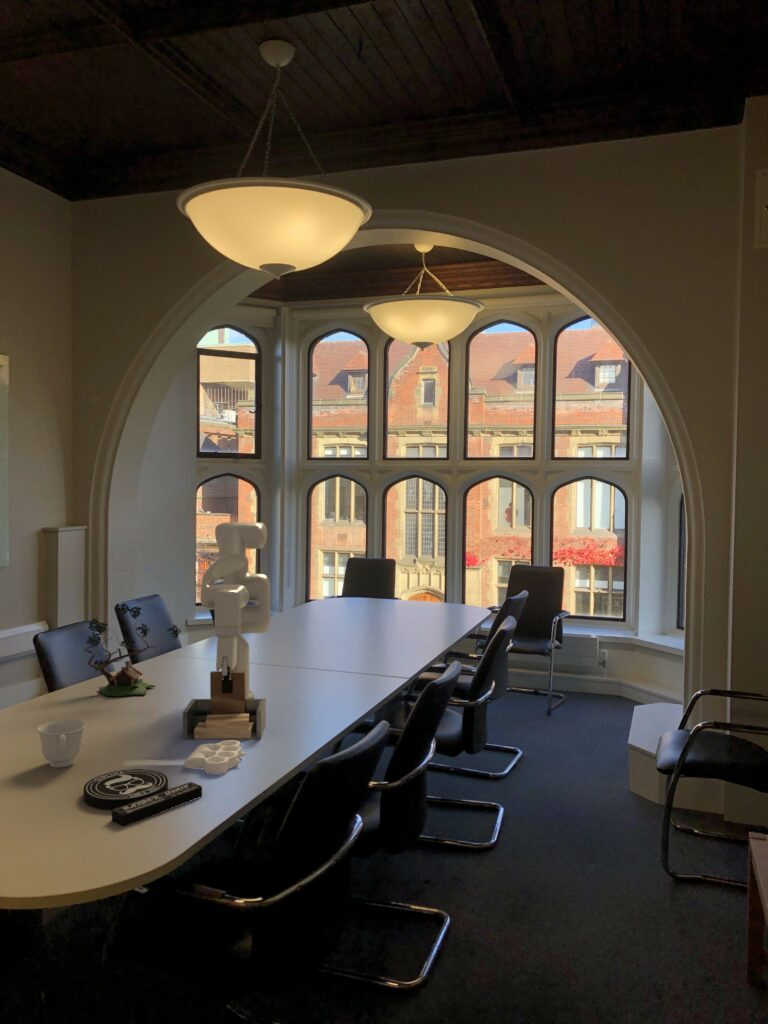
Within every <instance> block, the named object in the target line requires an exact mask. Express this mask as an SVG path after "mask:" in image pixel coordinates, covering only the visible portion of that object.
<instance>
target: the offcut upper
mask: <svg viewBox="0 0 768 1024" xmlns="http://www.w3.org/2000/svg"><path fill="white" fill-rule="evenodd" d="M229 729H249V714H222V715H207V719H206V730H229Z"/></svg>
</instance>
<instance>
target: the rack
mask: <svg viewBox="0 0 768 1024" xmlns="http://www.w3.org/2000/svg"><path fill="white" fill-rule="evenodd" d="M266 702H267V699H266V698H252V699H245V714H249V722H254V731H253V734H252V736H251V738H194V730H195V728H196V726H197V725H198V723H199V722H206V719H207V715H211V700H210V698H192V699H190V701H189V703H187V705H186V707H185V708H184V709H183V711H182V740H183V741H184V740H185V741H186V740H187V741H193V740H194V741H198V740H205V741H206V740H208V741H210V740H211V741H212V740H214V741H215V740H222V741H226V740H262V737H263V734H264V732H265V729H266V726H267V720H266V719H267V710H266V709H267V707H266V706H267V703H266Z"/></svg>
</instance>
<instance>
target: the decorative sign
mask: <svg viewBox="0 0 768 1024" xmlns="http://www.w3.org/2000/svg"><path fill="white" fill-rule="evenodd" d="M201 796H202V797H203V786H202V785H200V784H197V783H194V782H192V781H191V782H190V781H188V782H186V783H183V784H181V785H177V786H174V787H171V788H169V778H168V777H167V775H165V774H164V773H162V772H160V771H157V770H152V769H144V768H140V769H139V768H133V769H130V768H129V769H122V770H115V771H110V772H107V773H103V774H100V775H98V776H95V777H93V778H91V779H90V780H89V781H87V782H86V783H85V784H84V786H83V802H84V804H86V805H87V806H88V807H91V808H93V809H97V810H101V811H111V822H112V821H113V823H114V822H115V824H116V823H117V825H118V824H119V825H118V826H120V825H121V826H120V827H126V826H130V825H132V824H134V823H137V822H139V820H140V821H143V820H145V819H147V817H148V818H150V817H153V816H155V814H156V815H158V814H161V813H163V812H162V811H164V810H166V811H168V810H167V809H169V810H171V809H170V808H172V807H174V808H176V807H175V806H177V805H180V804H182V803H185V802H188V801H190V800H193V799H195V798H198V797H201ZM202 797H201V798H202ZM198 799H199V798H198ZM193 801H194V800H193ZM190 802H191V801H190ZM188 803H189V802H188ZM185 804H186V803H185ZM182 805H183V804H182ZM180 806H181V805H180ZM177 807H178V806H177ZM172 809H173V808H172ZM160 812H161V813H160ZM164 812H165V811H164ZM152 815H153V816H152ZM144 818H145V819H144ZM136 821H137V822H136ZM131 823H132V824H131Z"/></svg>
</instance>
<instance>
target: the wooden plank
mask: <svg viewBox="0 0 768 1024" xmlns="http://www.w3.org/2000/svg"><path fill="white" fill-rule="evenodd" d="M228 673H229V672H228ZM209 674H210V675H209V676H210V677H209V679H210V680H209V683H210V684H209V685H210V686H209V688H210V689H209V691H210V693H209V694H210V698H209V699H210V700H211V715H222V714H245V671H232V680H233V692H232V693H227V694H223V693H222V671H221V670H219V671H217V670H215V671H212V670H211V671H210V672H209Z"/></svg>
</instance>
